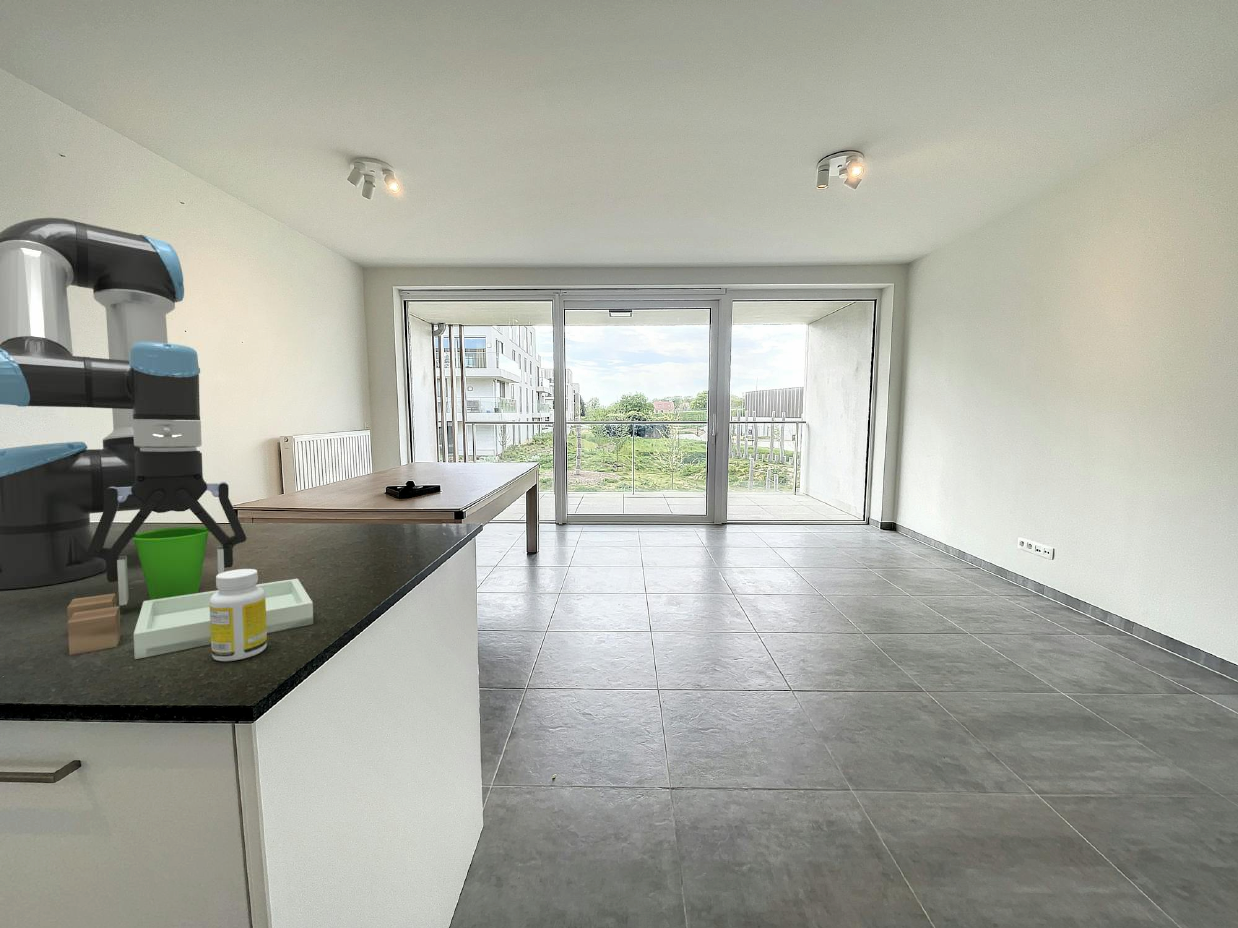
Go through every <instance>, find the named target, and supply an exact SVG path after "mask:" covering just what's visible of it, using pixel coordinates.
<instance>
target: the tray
mask: <svg viewBox="0 0 1238 928" xmlns="http://www.w3.org/2000/svg"><path fill="white" fill-rule="evenodd" d="M256 586H258V587H260V588H262V589H263V590H264V592H265V602H266V624H267V634H270V633H275V632H281V631H284V630H285V631H286V630H290V629H295V628H300V627H306V626H310V625H314V602H313V600H312V598H310V596H309V595H308V594H309V593H308V592H306V589H305V588H304V586H303V585H302V583H301V582H300V580H299V579H298V578H293V579H287V580H286V579H284V580H278V581H271V582H265V583H258V584H257V583H256ZM217 592H219V589H217V590H210V591H205V592H204V591H203V592H198V593H196V594H189V595H182V596H175V597H168V598H161V599H155V600H150V599H149V600H143V602H142V605H141V609H140V611H139V612H140V613H139V615H138V619H137V622H136V625H135V628H134V631H133V651H134V660H137V659H143V658H149V657H155V656H158V655H163V654H169V653H173V652H179V651H183V650H189V649H194V648H199V647H203V646H205V647H206V646H209V645H210V646H211V629H210V606H209V605H210V598H211V597H212V596H213V595H214V594H215V593H217Z"/></svg>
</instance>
